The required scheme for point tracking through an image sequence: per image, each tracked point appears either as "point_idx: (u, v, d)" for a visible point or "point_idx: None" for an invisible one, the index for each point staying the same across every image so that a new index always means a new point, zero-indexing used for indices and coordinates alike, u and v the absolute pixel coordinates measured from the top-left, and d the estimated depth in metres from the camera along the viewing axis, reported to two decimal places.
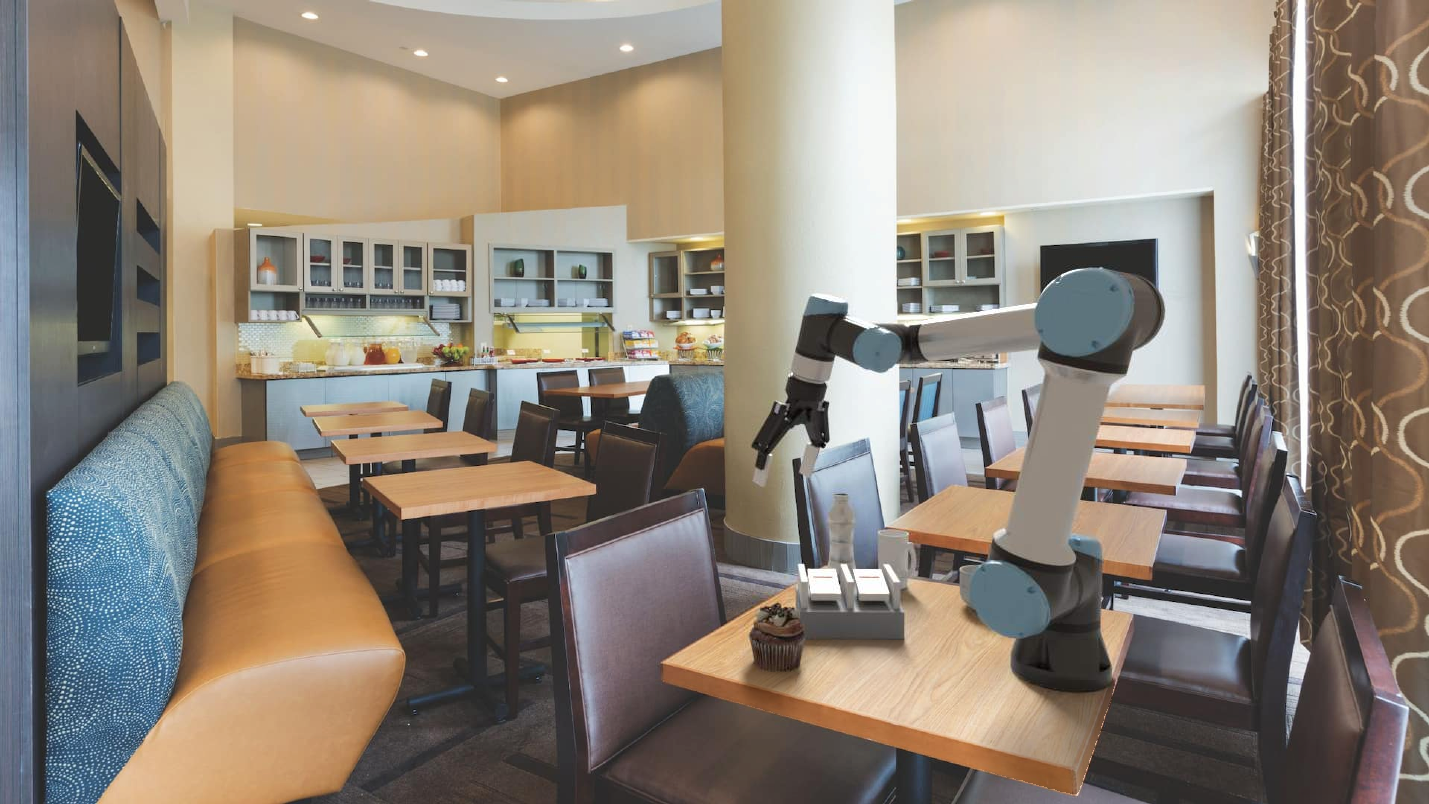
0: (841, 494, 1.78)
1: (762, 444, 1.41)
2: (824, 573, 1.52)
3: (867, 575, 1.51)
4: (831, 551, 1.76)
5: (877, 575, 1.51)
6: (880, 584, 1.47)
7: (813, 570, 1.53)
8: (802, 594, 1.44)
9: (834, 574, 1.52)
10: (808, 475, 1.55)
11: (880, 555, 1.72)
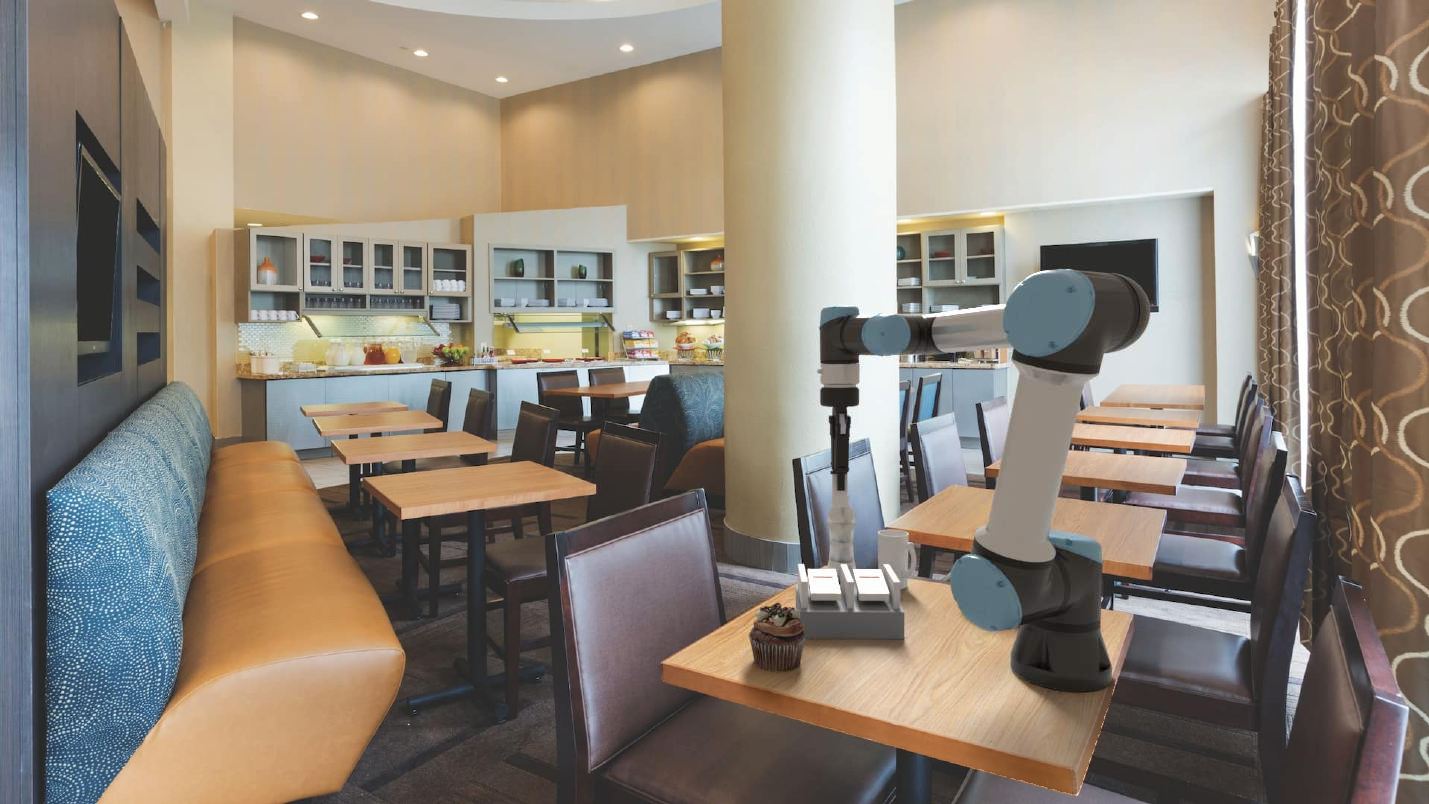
0: None
1: (847, 465, 1.47)
2: (824, 573, 1.52)
3: (867, 575, 1.51)
4: (831, 551, 1.76)
5: (877, 575, 1.51)
6: (880, 584, 1.47)
7: (813, 570, 1.53)
8: (802, 594, 1.44)
9: (834, 574, 1.52)
10: None
11: (880, 555, 1.72)
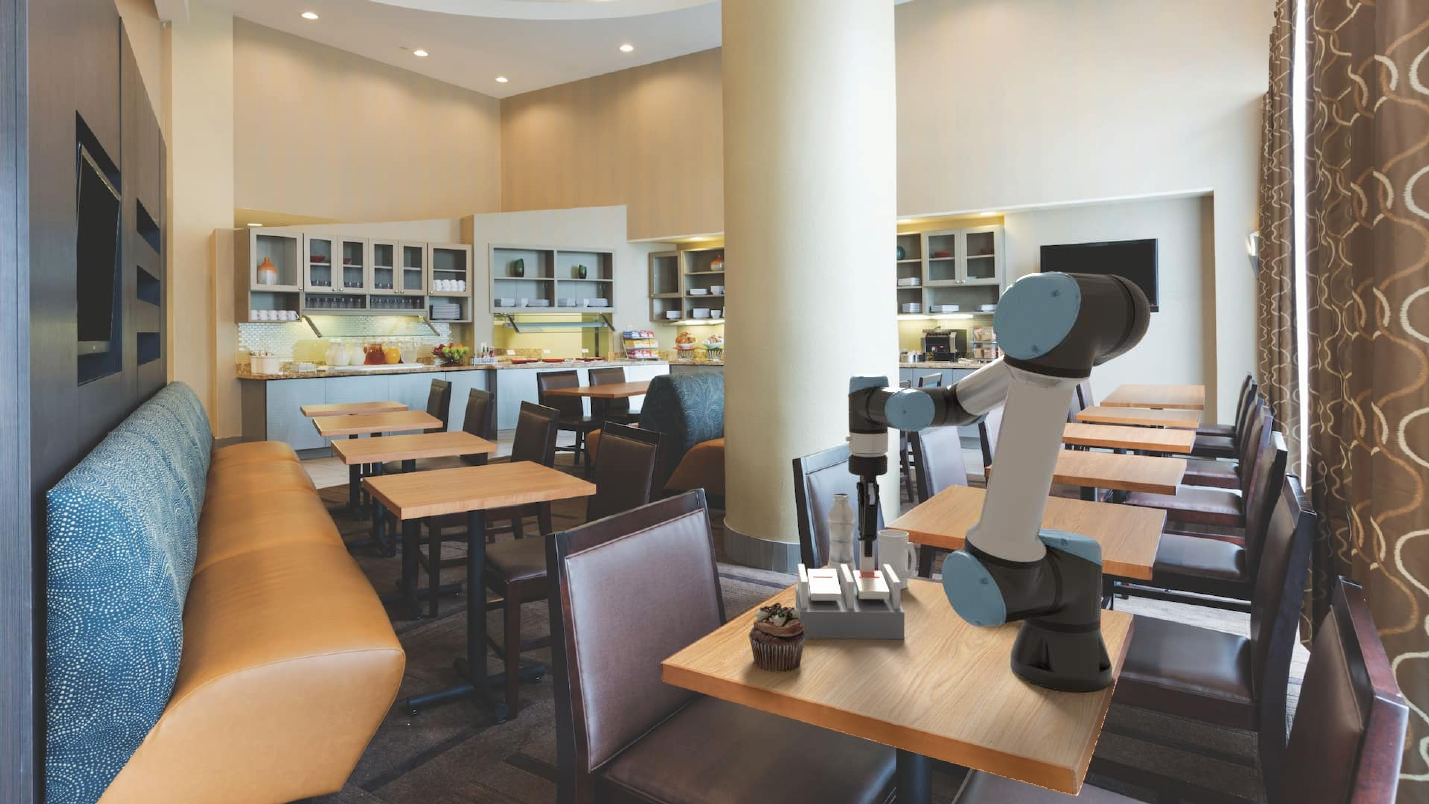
0: (841, 494, 1.78)
1: (875, 534, 1.49)
2: (824, 573, 1.52)
3: (867, 575, 1.51)
4: (831, 551, 1.76)
5: (877, 575, 1.51)
6: (880, 583, 1.48)
7: (813, 570, 1.53)
8: (802, 594, 1.44)
9: (834, 574, 1.52)
10: None
11: (880, 555, 1.72)
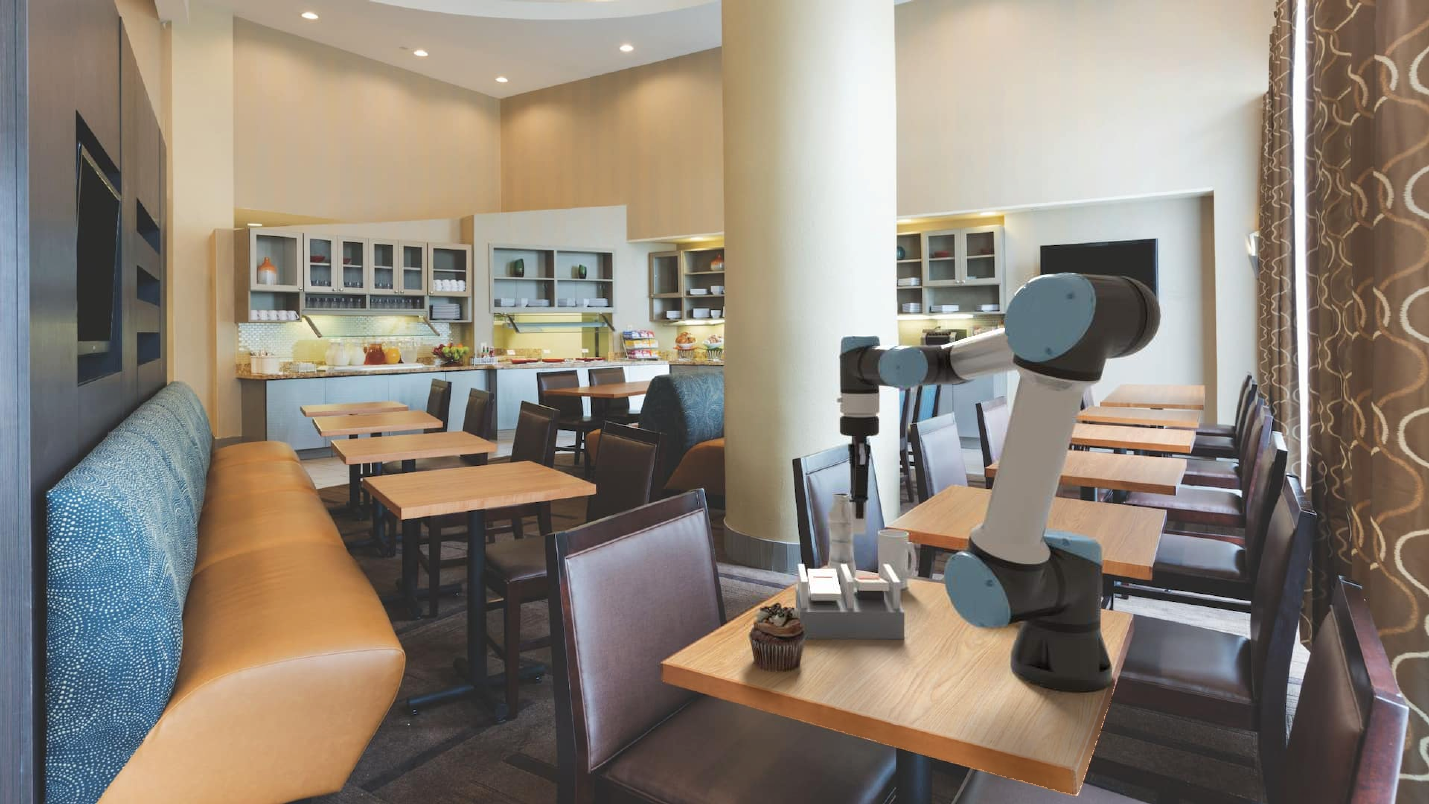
0: (841, 494, 1.78)
1: (866, 494, 1.48)
2: (824, 573, 1.52)
3: (867, 578, 1.51)
4: (831, 551, 1.76)
5: (876, 578, 1.51)
6: (880, 580, 1.48)
7: (813, 570, 1.53)
8: (802, 594, 1.44)
9: (834, 574, 1.52)
10: None
11: (880, 555, 1.72)
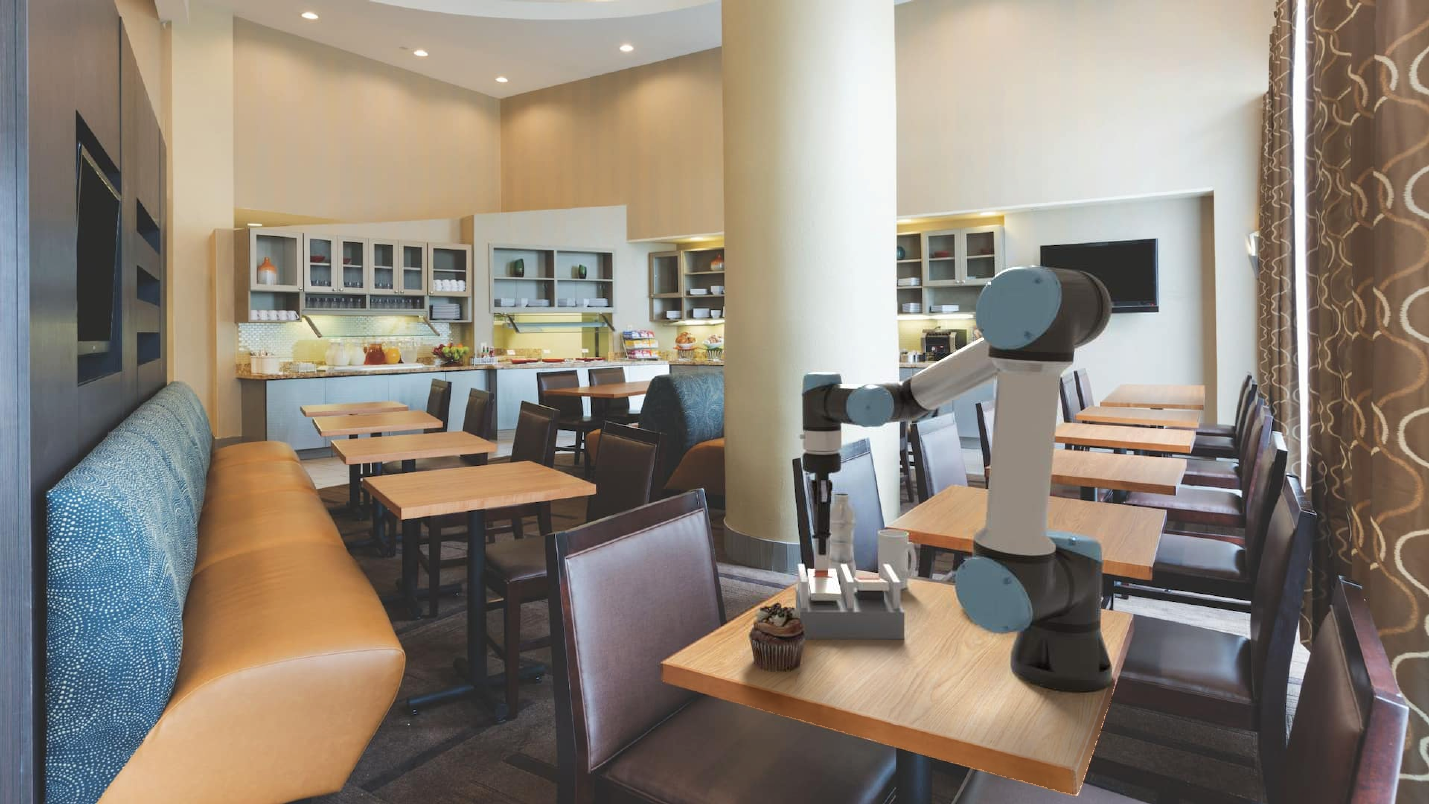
0: (841, 494, 1.78)
1: (828, 531, 1.49)
2: (824, 573, 1.52)
3: (867, 578, 1.51)
4: (831, 551, 1.76)
5: (876, 578, 1.51)
6: (880, 580, 1.48)
7: (813, 570, 1.53)
8: (802, 594, 1.44)
9: (834, 574, 1.52)
10: None
11: (880, 555, 1.72)
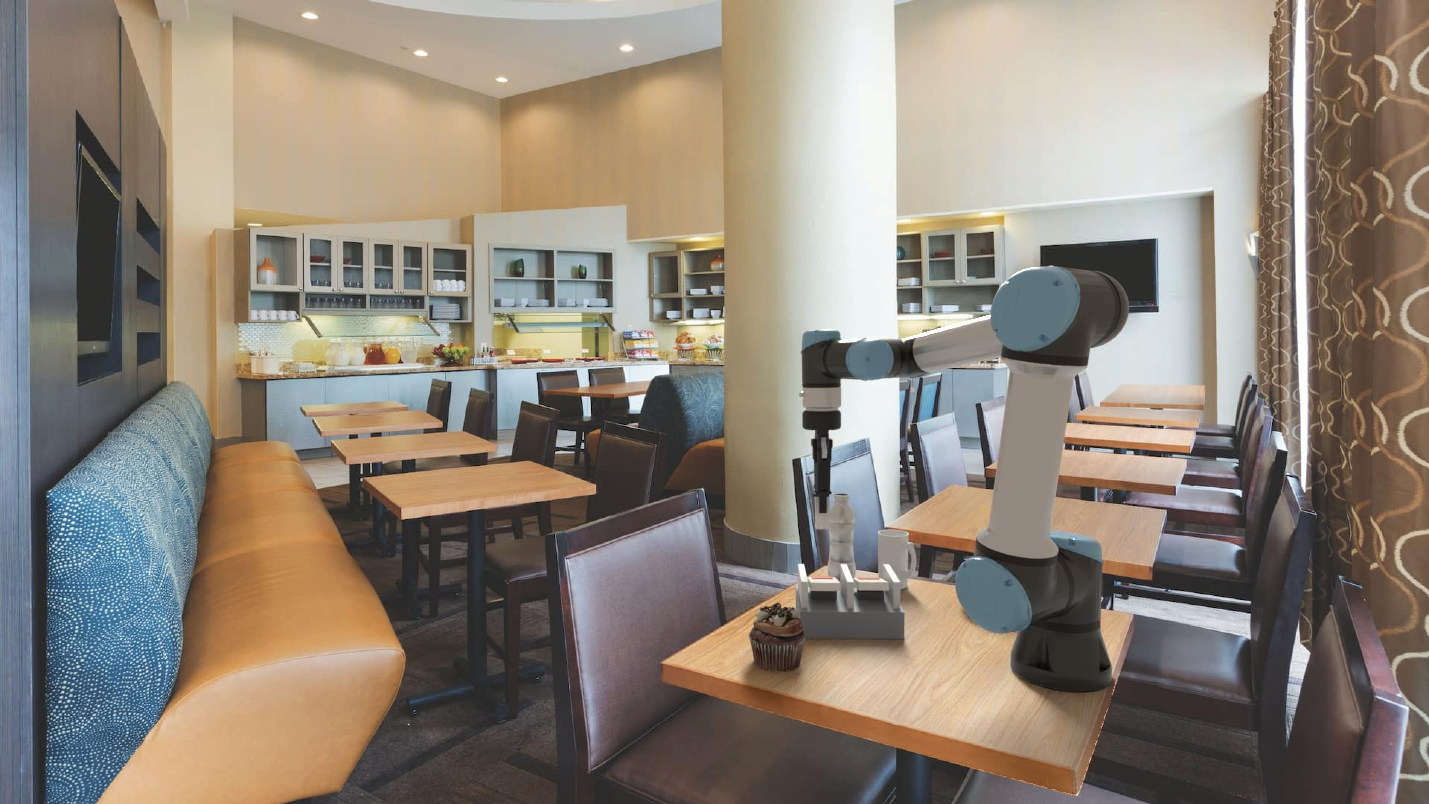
0: (841, 494, 1.78)
1: (828, 488, 1.48)
2: (824, 577, 1.53)
3: (867, 578, 1.51)
4: (831, 551, 1.76)
5: (876, 578, 1.51)
6: (880, 580, 1.48)
7: (813, 576, 1.54)
8: (802, 594, 1.44)
9: (834, 578, 1.53)
10: None
11: (880, 555, 1.72)
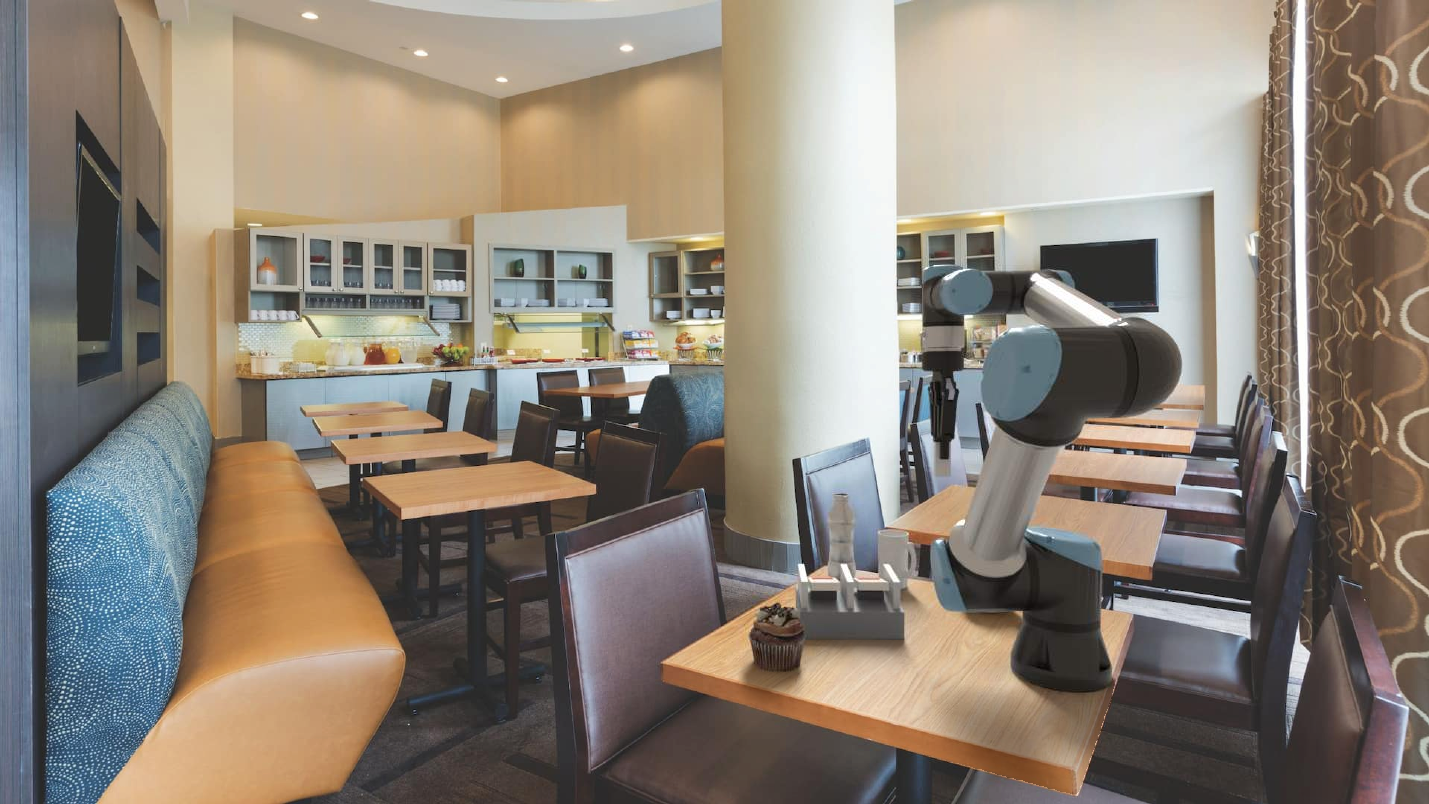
0: (841, 494, 1.78)
1: (953, 432, 1.41)
2: (824, 577, 1.53)
3: (867, 578, 1.51)
4: (831, 551, 1.76)
5: (876, 578, 1.51)
6: (880, 580, 1.48)
7: None
8: (802, 594, 1.44)
9: (834, 578, 1.53)
10: None
11: (880, 555, 1.72)
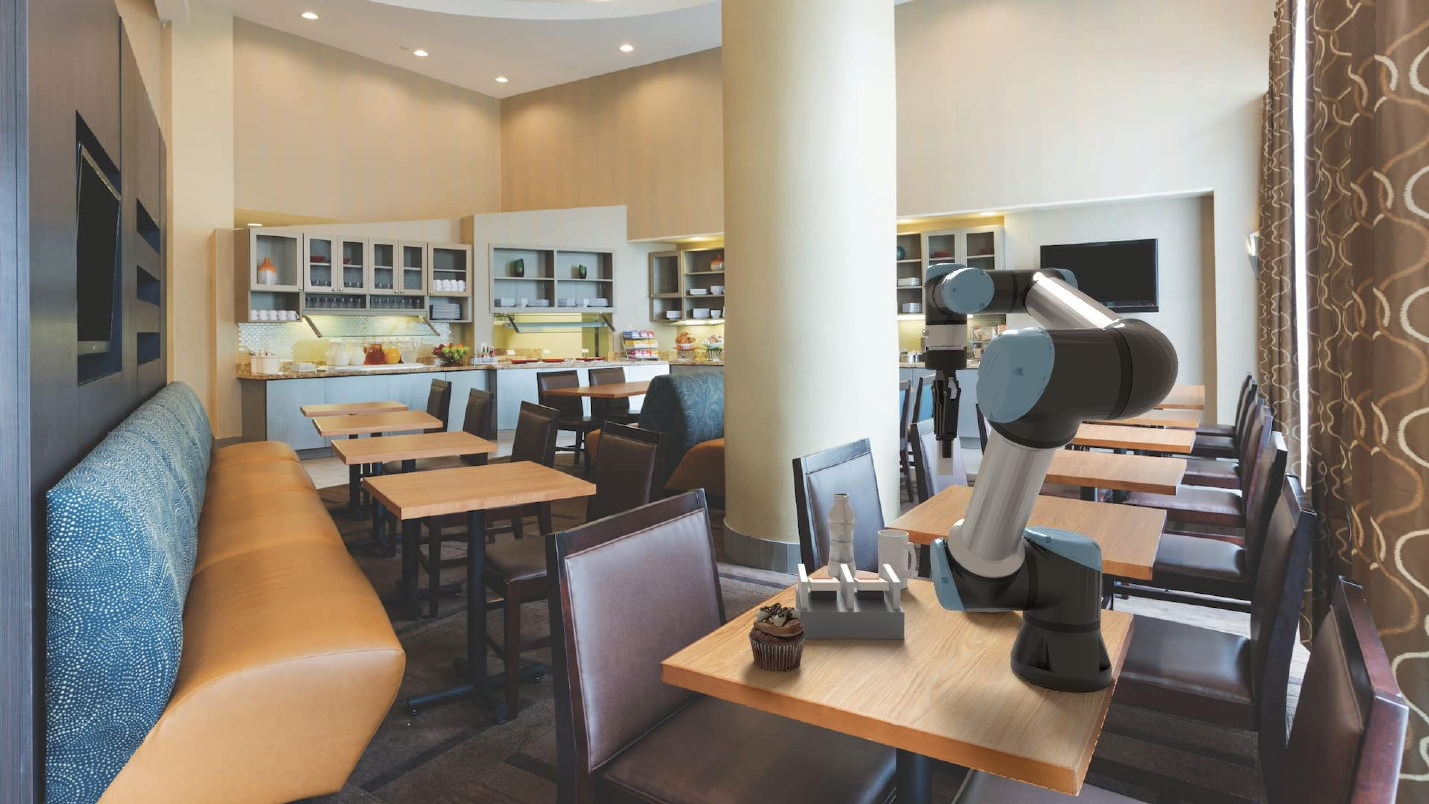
0: (841, 494, 1.78)
1: (955, 431, 1.41)
2: (824, 577, 1.53)
3: (867, 578, 1.51)
4: (831, 551, 1.76)
5: (876, 578, 1.51)
6: (880, 580, 1.48)
7: None
8: (802, 594, 1.44)
9: (834, 578, 1.53)
10: None
11: (880, 555, 1.72)
